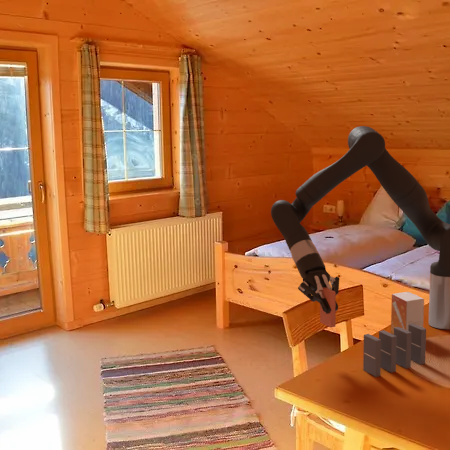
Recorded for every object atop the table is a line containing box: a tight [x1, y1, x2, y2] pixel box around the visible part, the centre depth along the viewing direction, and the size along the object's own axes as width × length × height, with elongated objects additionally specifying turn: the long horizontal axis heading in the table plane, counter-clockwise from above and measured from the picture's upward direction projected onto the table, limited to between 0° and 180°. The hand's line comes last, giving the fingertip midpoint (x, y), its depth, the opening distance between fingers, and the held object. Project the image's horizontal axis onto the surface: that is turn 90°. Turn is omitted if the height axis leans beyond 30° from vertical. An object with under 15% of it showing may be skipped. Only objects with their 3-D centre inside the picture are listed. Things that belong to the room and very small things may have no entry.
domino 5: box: [408, 324, 427, 365], centre depth 159 cm, size 2×5×10 cm, turn 25°
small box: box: [390, 291, 425, 335], centre depth 177 cm, size 8×6×13 cm
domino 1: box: [319, 287, 337, 329], centre depth 160 cm, size 2×5×10 cm, turn 25°
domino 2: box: [362, 333, 382, 378], centre depth 152 cm, size 2×5×10 cm, turn 25°
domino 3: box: [378, 330, 397, 373], centre depth 155 cm, size 2×5×10 cm, turn 25°
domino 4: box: [393, 327, 412, 370], centre depth 157 cm, size 2×5×10 cm, turn 25°
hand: (332, 311), depth 158 cm, fingers closed on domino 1, 1 cm apart
